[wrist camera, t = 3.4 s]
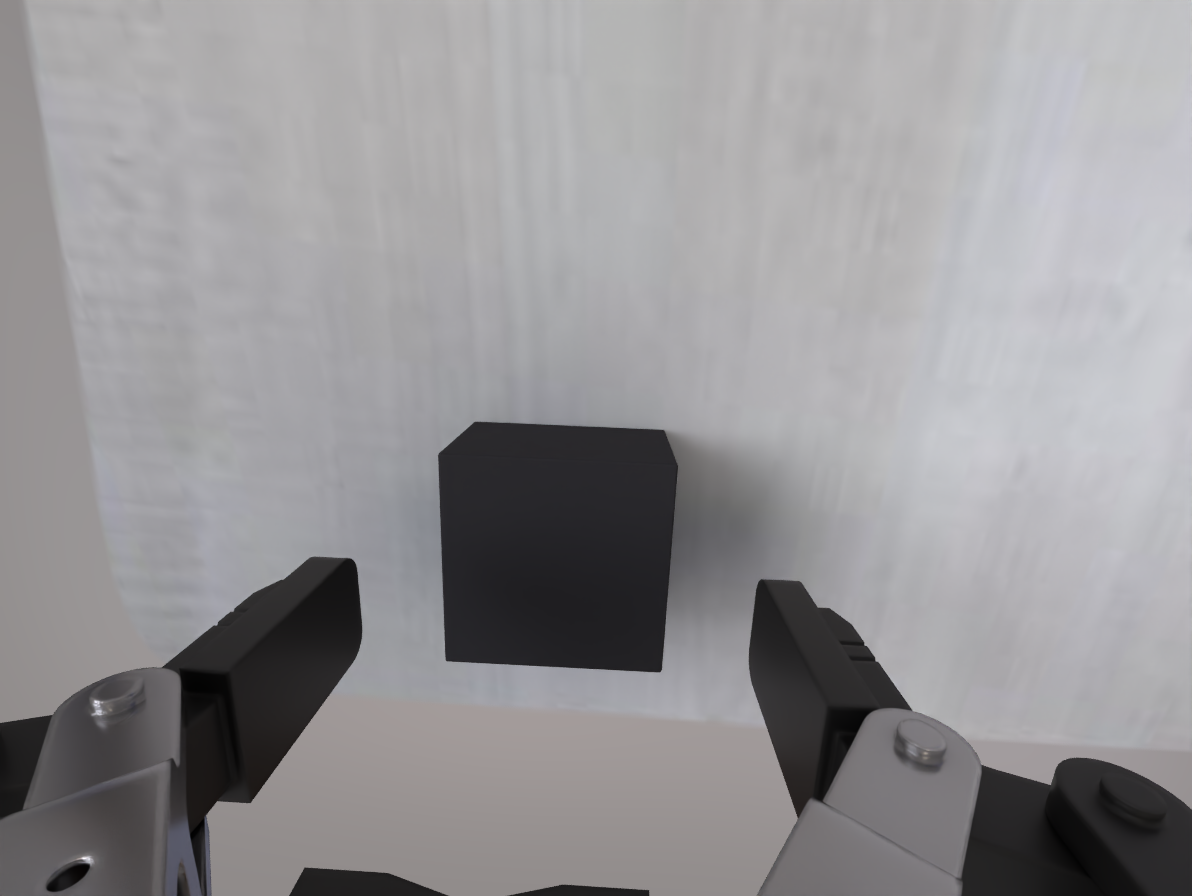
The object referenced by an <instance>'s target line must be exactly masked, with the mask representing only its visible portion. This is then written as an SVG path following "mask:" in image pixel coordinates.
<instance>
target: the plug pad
mask: <svg viewBox="0 0 1192 896" xmlns="http://www.w3.org/2000/svg"><path fill="white" fill-rule="evenodd" d="M438 461H439V489H440V517H441V545H442V573H443V601H444V629H445V657H446V661H452V662H471V663H490V664H509V665H529V666H548V667H567V668H586V669H605V670H624V671H643V672H661V670H662V661H663V649H664V636H665V624H666V611H667V598H668V586H669V573H670V560H671V548H672V535H673V522H674V510H675V497H676V484H677V472H678V465H677V462H676V460H675V457H674V455H673V452H672V449H671V447H670V444H669V442H668V439H667V436H666V434H665V431H664V430H650V429H627V428H605V427H582V426H559V425H536V424H513V423H491V422H474V423H473V424H472V425H471V426H470V427H469V428H467V429H466V430H465V431H464V432H463V433H462V434H461V435H460V436H458V437H457V438H456V439H455V440H454V441H453V442H452V443H450V444H449V445H448V446H447V447H446V448H445V449H444V450H443V451H441V452H440V453H439V455H438Z"/></svg>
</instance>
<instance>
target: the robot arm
mask: <svg viewBox="0 0 1192 896" xmlns="http://www.w3.org/2000/svg"><path fill="white" fill-rule="evenodd" d="M361 639H362V618H361V607H360V595H359V584H358V572H357V567H356V564H355V562H354V561H353V560H352V559H350V558H332V557H311V558H309V559H308V560H307V561H305V562H304V563H303V564H302V565H301V566H299V567H298V568H297V569H296V570H295V571H293V572H292V573H291V574H290V575H289V576H288V577H286V578H285V579H284V580H280V581H278V582H276V583H274V584H271V585H269V586H267V587H265V588H263V589H261V590H259V591H257V592H255V593H253V594H252V595H251V596H250V597H248V598H247V599H246V600H245V601H243V602H242V603H241V604H240V605H238V606H237V607H236V608H235V609H234V612H230V613H229V614H227V615H226V616H225V617H224V618H222V619H221V620H220V621H219V622H218V625H217V626H213V627H211V628H210V629H209V630H208V631H206V632H205V633H204V634H203V635H201V636H200V637H199V638H198V639H196V640H195V641H194V642H193V643H192V644H190V645H189V646H188V647H187V648H185V649H184V650H183V651H182V652H180V653H179V654H178V655H177V656H176V657H174V658H173V659H172V660H171V661H169V662H168V663H167V664H166V665H164V666H163V667H162V668H156V667H152V668H141V669H135V670H130V671H126V672H122V673H119V674H116V675H112V676H110V677H107V678H105V679H102V680H100V681H98V682H95V683H93V684H91V685H89V686H87V687H85V688H84V689H82V690H80V691H79V692H77V693H75V694H74V695H72V696H71V697H70V698H69V699H67V700H66V701H65V702H64V703H63V704H61V705H60V706H59V707H58V709H57V710H56V712H54V714H53V715H50V716H44V717H36V718H30V719H24V720H17V721H11V722H4V723H0V896H211V870H210V844H209V829H208V824H207V818H206V815H207V813H208V812H209V811H210V809H211V808H212V807H213V806H214V804H215V803H216V802H217V801H223V802H239V803H251V802H252V800H253V799H254V797H255V796H256V795H257V793H258V792H259V791H260V789H261V788H262V786H263V785H264V784H265V782H266V781H267V780H268V778H269V777H270V775H271V774H272V773H273V771H274V770H275V768H276V767H277V766H278V764H279V763H280V762H281V760H282V759H283V758H284V756H285V755H286V754H287V752H288V751H289V749H290V748H291V746H292V745H293V744H294V743H295V741H296V740H297V738H298V737H299V736H300V734H301V733H302V732H303V730H304V729H305V727H306V726H307V725H308V723H309V722H310V721H311V719H312V718H313V716H314V715H315V714H316V712H317V711H318V710H319V708H320V707H321V706H322V704H323V703H324V701H325V700H326V699H327V697H328V696H329V695H330V693H331V692H332V690H333V689H334V688H335V686H336V685H337V684H338V682H339V681H340V679H341V678H342V677H343V675H344V674H345V673H346V671H347V670H348V668H349V667H350V666H351V664H352V663H353V662H354V660H355V658H356V656H357V654H358V651H359V648H360V644H361ZM749 670H750V677H751V682H752V685H753V688H754V691H755V694H756V697H757V700H758V703H759V706H760V709H761V712H762V714H763V717H764V720H765V723H766V726H767V729H768V732H769V735H770V738H771V741H772V744H773V746H774V750H775V752H776V755H777V758H778V761H779V764H780V767H781V770H782V773H783V776H784V779H785V782H786V785H787V788H788V790H789V793H790V796H791V799H792V802H793V805H794V808H795V811H796V814H797V817H798V820H797V822H796V824H795V826H794V827H793V829H792V831H791V833H790V835H789V837H788V838H787V840H786V842H785V844H784V846H783V848H782V850H781V851H780V853H779V855H778V857H777V859H776V861H775V863H774V864H773V867H772V868H771V870H770V872H769V874H768V875H767V877H766V879H765V881H764V883H763V885H762V887H761V889H760V890H759V892H758V894H757V896H1192V810H1191V809H1190V808H1189V807H1188V806H1187V805H1186V804H1185V803H1184V802H1182V801H1181V800H1180V799H1178V798H1177V797H1176V796H1174V795H1173V794H1172V793H1170V792H1169V791H1167V790H1166V789H1164V788H1162V787H1161V786H1159V785H1158V784H1156V783H1154V782H1152V781H1150V780H1149V779H1147V778H1145V777H1143V776H1141V775H1139V774H1137V773H1135V772H1132V771H1130V770H1128V769H1125V768H1123V767H1120V766H1117V765H1114V764H1111V763H1108V762H1104V761H1100V760H1096V759H1089V758H1070V759H1067V760H1064V761H1062V762H1061V763H1059V764H1058V766H1057V768H1056V770H1055V774H1054V777H1053V780H1052V783H1051V785H1048V784H1044V783H1041V782H1037V781H1034V780H1030V779H1027V778H1023V777H1020V776H1016V775H1013V774H1009V773H1006V772H1002V771H998V770H995V769H992V768H989V767H986V766H983V765H981V762H980V759H979V757H978V755H977V753H976V752H975V751H974V749H973V748H972V747H971V745H970V744H969V743H968V742H967V741H966V740H965V739H964V738H963V737H961V736H960V735H959V734H958V733H957V732H955V731H954V730H952V729H951V728H950V727H948V726H946V725H945V724H943V723H941V722H939V721H937V720H935V719H933V718H931V717H929V716H926V715H923V714H921V713H918V712H914V711H912V709H911V708H910V706H909V705H908V704H907V702H906V701H905V699H904V698H903V697H902V695H901V694H900V692H899V691H898V689H897V688H896V687H895V685H894V684H893V682H892V681H891V680H890V678H889V677H888V675H887V674H886V672H885V671H884V670H883V668H882V667H881V665H880V664H879V663H878V662H876V661H875V657H874V656H873V654H872V653H871V651H870V650H869V648H868V647H867V646H864V641H863V640H862V639H861V637H860V636H859V634H858V633H857V631H856V630H855V629H854V627H853V626H852V624H850V623H849V622H848V621H846V620H845V619H843V618H842V617H841V616H839V615H838V614H837V613H835V612H834V611H832V610H831V609H830V608H817V606H816V604H815V603H814V601H813V600H812V598H811V597H810V595H809V593H808V592H807V590H806V589H805V587H804V586H803V584H802V583H801V582H800V581H786V580H766V579H761V580H760V581H759V582H758V585H757V589H756V596H755V605H754V613H753V622H752V630H751V638H750V647H749ZM289 896H448V895H445V894H442V893H440V892H437V891H434V890H432V889H429V888H426V887H423V886H421V885H418V884H416V883H413V882H410V881H407V880H405V879H402V878H400V877H397V876H394V875H391V874H389V873H378V872H362V871H347V870H333V869H318V868H304V870H303V872H302V874H301V875H300V877H299V879H298V881H297V883H296V884H295V886H294V888H293V890H292V892H291V894H290V895H289ZM510 896H649V890H636V889H621V888H606V887H591V886H575V885H559V886H554V887H549V888H544V889H540V890H534V891H529V892H524V893H519V894H515V895H510Z"/></svg>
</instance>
